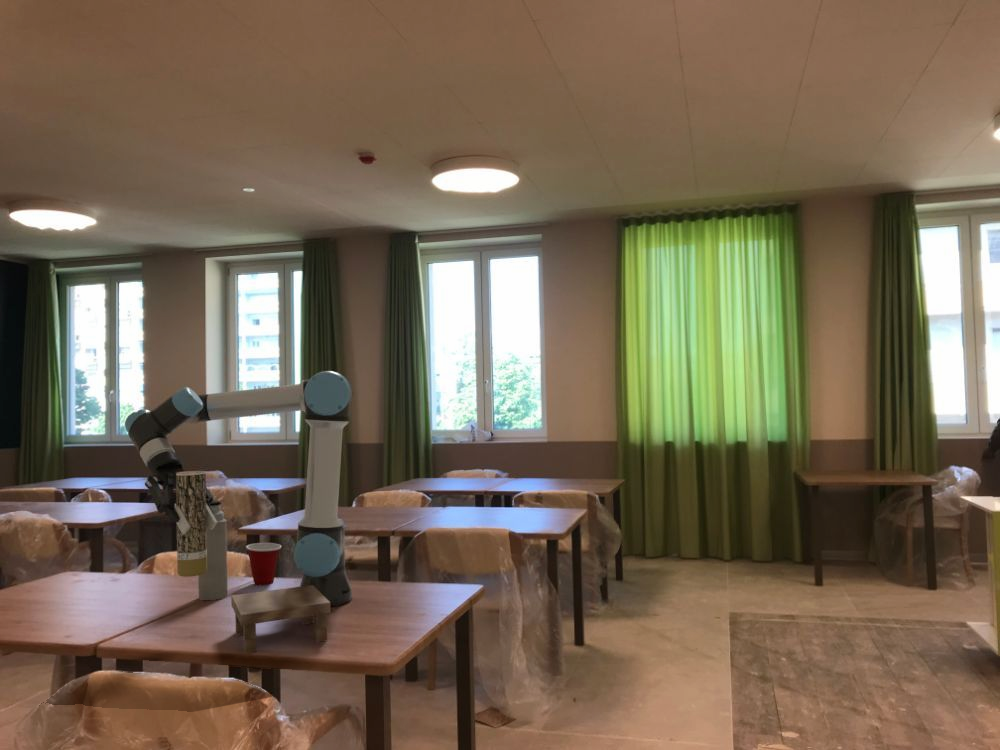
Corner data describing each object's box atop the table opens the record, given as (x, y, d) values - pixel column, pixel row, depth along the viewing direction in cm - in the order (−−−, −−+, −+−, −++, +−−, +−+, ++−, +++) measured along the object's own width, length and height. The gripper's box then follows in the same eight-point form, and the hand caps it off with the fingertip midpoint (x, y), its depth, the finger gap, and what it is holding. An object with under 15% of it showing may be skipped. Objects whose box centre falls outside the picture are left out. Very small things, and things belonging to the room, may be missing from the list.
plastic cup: (271, 587, 232) (271, 548, 232) (239, 587, 234) (239, 548, 234) (288, 579, 242) (287, 542, 243) (257, 579, 244) (257, 541, 245)
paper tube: (200, 569, 190) (198, 470, 191) (211, 573, 185) (210, 471, 186) (172, 574, 185) (171, 472, 186) (184, 578, 180) (182, 473, 181)
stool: (313, 620, 195) (312, 584, 196) (331, 641, 177) (330, 602, 178) (231, 632, 187) (231, 595, 187) (241, 655, 169) (241, 614, 169)
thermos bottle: (216, 592, 228) (214, 499, 229) (233, 595, 223) (232, 500, 224) (192, 598, 221) (191, 502, 222) (210, 602, 217) (208, 504, 218)
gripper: (190, 466, 203) (228, 532, 193) (118, 473, 186) (156, 545, 177) (201, 447, 200) (241, 512, 190) (129, 452, 184) (168, 524, 174)
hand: (200, 528), depth 183 cm, fingers closed on paper tube, 7 cm apart
